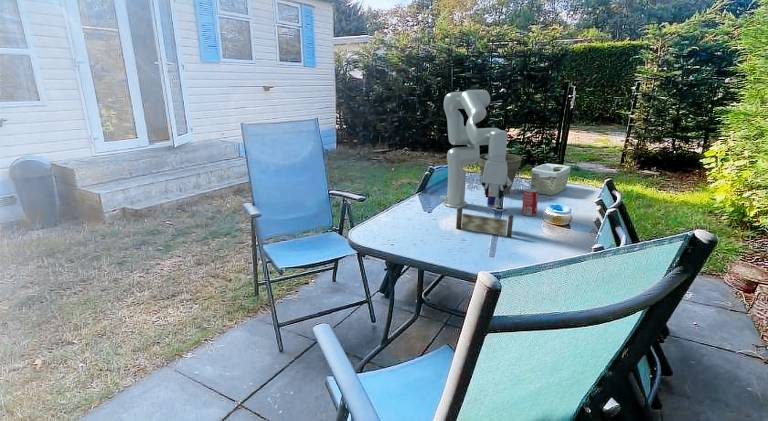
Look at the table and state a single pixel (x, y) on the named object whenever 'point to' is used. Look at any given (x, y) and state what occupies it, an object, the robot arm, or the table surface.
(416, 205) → the table surface
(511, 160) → the plant pot
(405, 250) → the table surface
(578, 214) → the table surface
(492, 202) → the energy drink
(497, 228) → the gate
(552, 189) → the storage basket
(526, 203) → the soda can
